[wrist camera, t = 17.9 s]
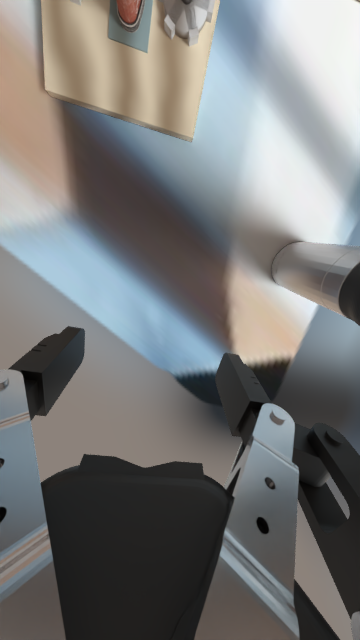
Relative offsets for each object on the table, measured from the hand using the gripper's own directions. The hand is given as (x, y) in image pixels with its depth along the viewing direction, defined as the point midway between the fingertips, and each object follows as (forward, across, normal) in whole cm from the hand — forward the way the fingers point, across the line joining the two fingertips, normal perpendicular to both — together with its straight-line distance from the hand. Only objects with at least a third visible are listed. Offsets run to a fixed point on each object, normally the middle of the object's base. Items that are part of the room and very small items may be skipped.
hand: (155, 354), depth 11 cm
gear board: (+30, +10, -32) cm, 45 cm away
